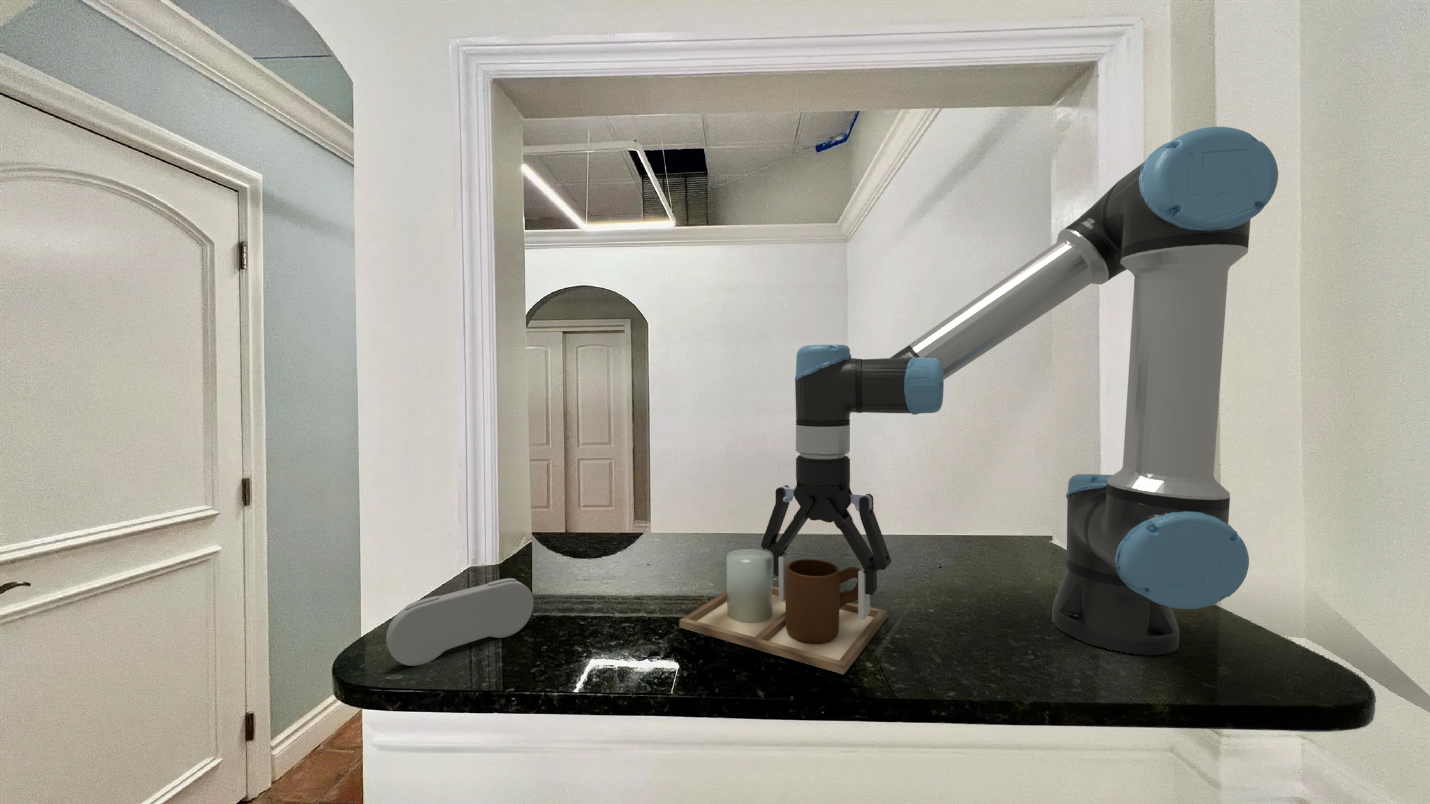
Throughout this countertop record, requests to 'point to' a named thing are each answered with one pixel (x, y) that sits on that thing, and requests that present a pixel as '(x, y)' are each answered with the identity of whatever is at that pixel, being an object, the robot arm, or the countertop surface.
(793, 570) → the mug
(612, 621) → the countertop surface
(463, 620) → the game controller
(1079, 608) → the robot arm
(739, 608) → the pillar candle
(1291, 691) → the countertop surface
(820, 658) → the organizer
